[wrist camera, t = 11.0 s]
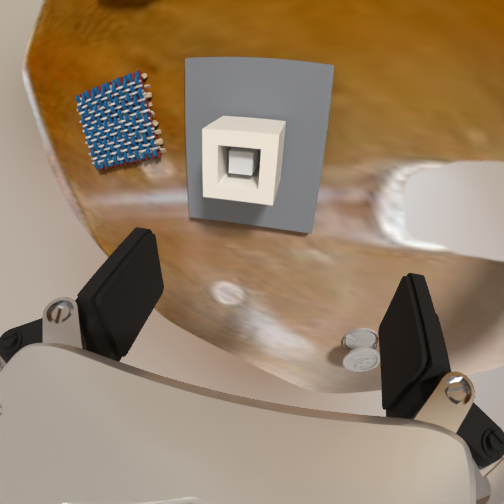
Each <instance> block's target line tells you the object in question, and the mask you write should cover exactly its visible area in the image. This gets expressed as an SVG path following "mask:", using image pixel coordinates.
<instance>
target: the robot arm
mask: <svg viewBox="0 0 504 504" xmlns="http://www.w3.org/2000/svg"><path fill="white" fill-rule="evenodd" d="M163 289H164V285H163V279H162V273H161V268H160V262H159V255H158V249H157V243H156V237H155V234H152V231H151V230H150V229H145V228H138V227H137V228H135V229H134V230H133V231H132V232H131V233H130V234H129V235H128V237H127V238H126V239H125V240H124V241H123V242H122V243H121V244H120V245H119V246H118V248H117V249H116V250H115V251H114V252H113V253H112V254H111V255H110V257H109V258H108V259H107V260H106V261H105V263H104V264H103V265H102V266H101V267H100V268H99V269H98V271H97V272H96V273H95V274H94V275H93V276H92V278H91V279H90V280H89V281H88V283H87V284H86V285H85V286H84V287H83V289H82V290H81V291H80V292H79V293H78V295H77V296H78V298H77V299H76V300H75V301H74V300H73V299H71V298H69V297H62V298H58V299H55V300H54V301H52V302H51V303H49V304H48V305H47V307H46V308H45V310H44V312H43V318H41V319H39V320H36V321H33V322H30V323H27V324H24V325H21V326H19V327H16V328H13V329H10V330H8V331H6V332H5V333H4V334H3V335H2V336H1V337H0V504H504V432H503V431H502V430H501V428H500V427H499V426H497V425H496V424H495V423H494V422H493V421H492V420H491V419H490V418H489V417H488V416H487V415H486V414H485V413H484V412H483V411H482V410H481V409H480V408H479V407H478V406H477V405H475V403H473V401H474V398H475V390H474V386H473V384H472V382H471V381H470V379H468V377H467V376H465V375H464V374H462V373H459V372H451V368H450V363H449V359H448V354H447V350H446V346H445V341H444V337H443V333H442V329H441V326H440V322H439V318H438V316H437V314H436V313H435V310H434V307H433V303H432V300H431V296H430V293H429V290H428V287H427V283H426V280H425V277H424V276H423V275H419V274H413V273H409V274H408V275H407V276H403V277H402V279H401V281H400V284H399V286H398V288H397V290H396V293H395V295H394V297H393V299H392V301H391V303H390V305H389V308H388V310H387V312H386V314H385V316H384V318H383V320H382V322H381V324H380V326H379V332H378V335H379V347H380V362H381V381H382V407H383V409H386V417H380V416H367V415H356V414H347V413H338V412H329V411H321V410H312V409H306V408H299V407H293V406H287V405H281V404H275V403H270V402H264V401H259V400H254V399H249V398H245V397H240V396H235V395H231V394H227V393H222V392H218V391H214V390H210V389H206V388H202V387H198V386H195V385H191V384H187V383H184V382H180V381H177V380H173V379H170V378H166V377H163V376H160V375H157V374H154V373H150V372H147V371H144V370H141V369H138V368H135V367H132V366H130V365H127V364H124V363H121V362H119V361H120V359H121V357H122V356H123V357H124V356H126V354H127V353H128V351H129V350H130V348H131V346H132V344H133V343H134V341H135V339H136V337H137V336H138V334H139V332H140V331H141V329H142V327H143V325H144V324H145V322H146V320H147V319H148V317H149V315H150V313H151V312H152V310H153V308H154V307H155V305H156V303H157V302H158V300H159V298H160V297H161V295H162V293H163Z"/></svg>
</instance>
